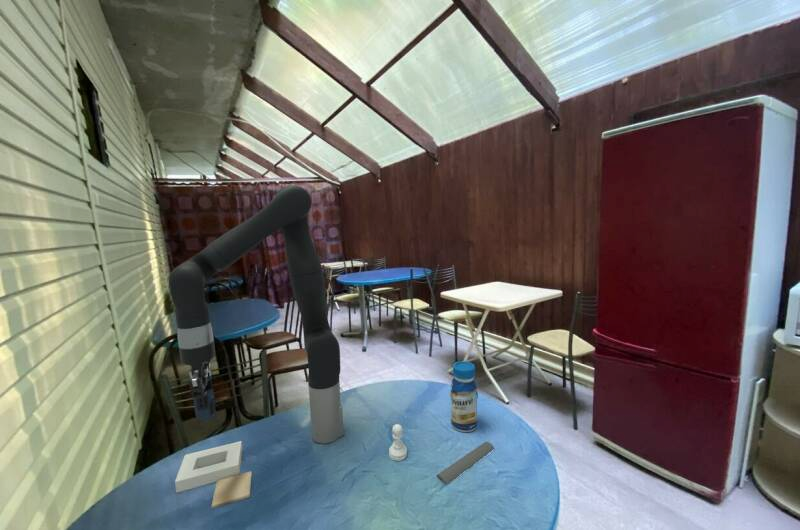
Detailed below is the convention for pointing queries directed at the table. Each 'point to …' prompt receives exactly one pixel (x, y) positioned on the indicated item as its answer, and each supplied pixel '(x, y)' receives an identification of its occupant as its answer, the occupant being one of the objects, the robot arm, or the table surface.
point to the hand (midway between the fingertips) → (204, 404)
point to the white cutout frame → (197, 477)
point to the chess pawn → (397, 445)
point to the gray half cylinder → (465, 463)
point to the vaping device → (210, 411)
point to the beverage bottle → (464, 397)
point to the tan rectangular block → (232, 489)
